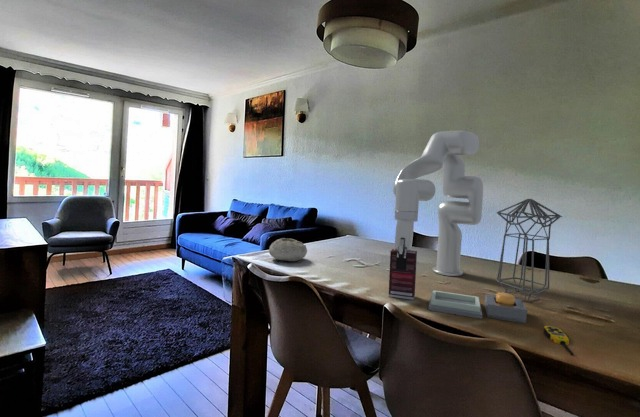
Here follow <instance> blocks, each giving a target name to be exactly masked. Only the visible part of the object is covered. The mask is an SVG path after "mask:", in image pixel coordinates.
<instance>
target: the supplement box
mask: <svg viewBox="0 0 640 417" xmlns="http://www.w3.org/2000/svg"><path fill="white" fill-rule="evenodd" d="M389 252H390V254H389V255H390V256H389V277H388V278H389V279H388V297H389V298H396V299H397V298H398V299H404V300H410V301H411V300H412V301H413V300H414V299H415V294H416V278H417V277H416V276H417V258H418V257H417V255H418V251H417V250H412V249H410V250H409V251H407V254H406V258H407V264H406V270H398V269H396V260H397V253H398V249H397V250H395V249H394V248H391V250H390V251H389Z"/></svg>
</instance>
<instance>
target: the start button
mask: <svg viewBox="0 0 640 417" xmlns="http://www.w3.org/2000/svg"><path fill="white" fill-rule="evenodd" d="M495 296H496V303H499V304H505V305H512V306H514V303H515V297H516V296H515V295H513V293H505V292H496V294H495Z"/></svg>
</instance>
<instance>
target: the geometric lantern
mask: <svg viewBox="0 0 640 417" xmlns="http://www.w3.org/2000/svg"><path fill="white" fill-rule="evenodd" d="M528 204H529V208H530V212H531V213H529V212H525V211H526V209H527V207H528ZM513 207H515V208H513ZM511 208H512V209H511ZM542 208H543V209H544V210H546V211H548V212H550V213H552V214H547V212H545V211H544V210H543V209H542ZM509 209H511V210H510V211H509V212H507V213H503V212H505V211H506V210H507V211H508V210H509ZM496 214H497V215H498V216H500V218H502V219H503V220H504V221H505V222H506V223H505V231H504V234H503V241H502V246H501V253H500V259H499V264H498V270H497V277H496V282H497V283H499V284H500V286H501V287H503V289H504V290H505V291H504V293H508V294H513V293H516V294H519V295H521V296H524V299H522V298H519V297H517V296H515V298H516V299H521V300H522V302H527V303H529V302H533V301H538V300H540V294H541V293H543V292H546V291H547V290H550V239H551V230H552V229H551V227H552V224H554V223H555V222H556V221H558V220H559V219H561V218H563V216H562V215H560V214H558V212H555V211H553V210H551V209H550V208H549V207H546V206H545V205H544V204H541V203H540V202H538V201H536V200H534V199H533V198H526V199H524V200H522V201H519V202H517V203H516V204H515V203H514V204H512V205H510V206H508V207H505V208H503V209H502V210H499V211H496ZM522 214H523V215H522ZM505 216H506V217H505ZM525 218H526V219H525ZM533 218H536V220H534V219H533ZM515 219H516V222H514V221H515ZM519 219H524V220H520V221H519ZM542 219H543V221H544V222H542ZM547 219H548V220H547ZM529 220H530V221H532V222H533V224H532V225H531V227H529V228H528V230H527V231H526V232H525V230H524V228H523V227H522V225H521V224H523V223H525V222H527V221H529ZM508 224H509V226H508ZM536 224H538V225H540V226H541V227H540V228H539V230H538V231H537V232H536V233H535V234H529V232H530V231H531V230H532V229H533V227H535V226H536ZM511 226H515V228H516V230H517V231H518V232H517V233H508V231H509V229H510V227H511ZM518 226H519V228H520V229H519V228H518ZM546 227H548V233H547V230H546ZM542 229H543V230H544V233H545V236H543V235H538V233H539V232H540V231H541V230H542ZM520 230H521V231H520ZM521 232H522V233H521ZM516 235H518V236H516ZM521 236H524V237H521ZM528 236H530V237H531V236H532V238H529V237H528ZM506 237H511V238H516V239H517V244H516V245H517V246H516V253H515V260H514V267H513V274H512V276H511V277H506V278H502V272H503V261H504V252H505V245H506ZM535 237H537V238H535ZM521 239H523V245H522V256H521V257H522V258H521V267H520V268H521V269H520V271H521V272H520V277H515V275H516V270H517V269H516V268H517V261H518V255H519V246H520V241H521ZM542 240H543V241H544V240H546V250H545V251H546V252H545V272H544V283H542V282H541V283H540V282H537V281H534V269H535V266H534V265H535V264H534V261H535V260H534V259H535V257H534V256H535V241H542ZM528 241H531V243H532V244H531V280H529V279H526V271H527V270H526V269H527V255H528V244H529V243H528ZM506 280H508V281H509V280H513V283H514V285H512V284H508V283H506V282H502V281H506ZM516 280H519V284H518V285H517V283H516ZM525 282H528V283H531V289H530V288H527V287H525V286H526V285H525V284H526V283H525ZM521 283H522V286H521ZM534 284H536V285H538V286H539V285H540V286H542V287H541V288H534ZM506 286H508V287H506ZM513 288H514V290H511V289H513ZM527 292H529V293H527ZM533 292H534V293H533ZM527 297H528V299H527ZM530 297H533V298H534V299H530Z"/></svg>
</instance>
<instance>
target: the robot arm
mask: <svg viewBox="0 0 640 417" xmlns="http://www.w3.org/2000/svg"><path fill="white" fill-rule="evenodd" d="M479 147H480V139H479V136H478V135H477V134H476V133H474V132H471V131H466V130H445V131H443V130H442V131H436V132H435V133H433V134H432V135H431V137H430V138H429V140H428V142H427V144H426V146H425V148H424V150H423V152H422V153H421V155H420V156H419V157H418V158H416V159H414V160H412V161H411V162H410V163H408V164H407V165H405V166H404V167H403V168H402V169H401V170H400V172H399V173H398V175H397V177H396V179H395V180H394V181H395V182H394V184H393V190H392V192H393V194H394V197H395V204H394V205H395V206H394V208H395V209H394V221H396V227H395V234H394V245H393V249H395V250H397V249H398V253H397V260H396V269H398V270H406V264H407V258H406V254H407V251H409V250H412V249H411V248H413V247H412V245H413V237H414V224H415V223H416V222H418V221H419V220H418V218H419V203H420V202H428V201H430V200H432V199H433V198H434V197H435V194H436V186H435V184H434V183H433V182H432V180H429V179H424V178H423V179H421V178H420V177H424V176H427V175H430V174H433V173H436V172H438V171H440V170H441V169H443V170H442V172H443V174H442V194H443V195H444V196H445V197H447V198H452V199H454V198H455V199H464V200H465V199H466V200H468V201H461V200H445V201H442V202H441V203H439V205H438V207H437V208H438V209H437V216H438V238H437V240H438V241H437V251H436V252H437V253H436V266H434V267H432V272H433V273H435V274H438V275H442V276H447V277H449V276H450V277H461V276H463V275H464V271H463V270H461V269H460V268H461V267H460V265H461V255H462V254H461V252H462V239H463V235H462V229H461V228H460V227H459V224H460V225H467V226H476V225H479V224H480V222H481V220H482V216H483V214H482V213H483V201H484V200H483V198H484V184H483V180H482V178H480V177H479V176H475V175H474V176H473V175H466V173H465V172H466V170H465V168H466V167H465V166H466V163H465V161H464V160H463V158H462V157H461V156H470V155H472V156H473V155H474V154H476V153H477V152H478V150H479ZM419 178H420V179H419Z"/></svg>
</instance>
